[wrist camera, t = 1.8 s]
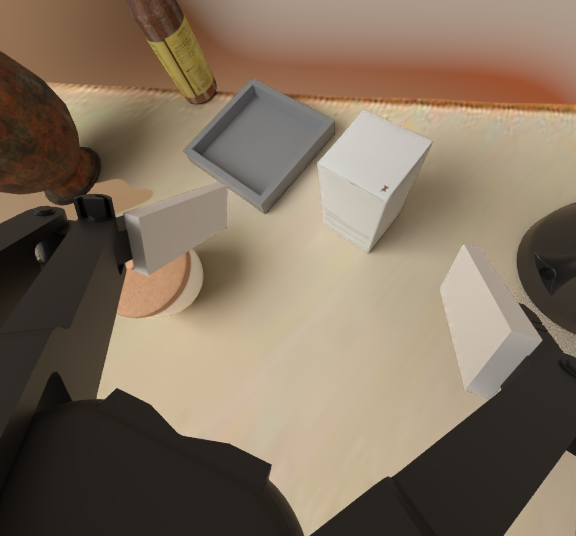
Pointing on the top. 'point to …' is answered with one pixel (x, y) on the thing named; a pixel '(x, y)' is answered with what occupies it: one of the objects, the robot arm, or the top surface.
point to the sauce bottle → (175, 47)
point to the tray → (260, 143)
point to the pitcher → (40, 140)
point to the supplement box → (369, 177)
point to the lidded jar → (161, 288)
